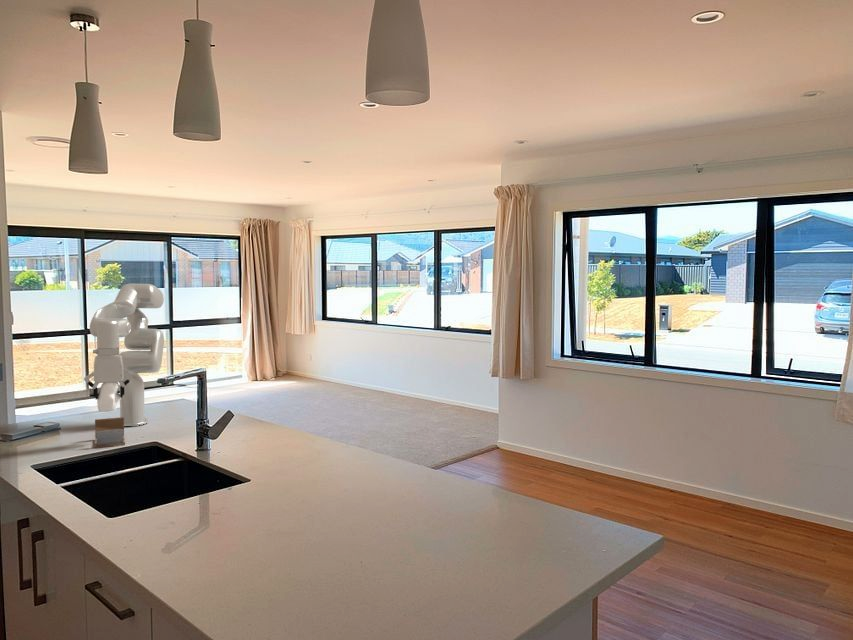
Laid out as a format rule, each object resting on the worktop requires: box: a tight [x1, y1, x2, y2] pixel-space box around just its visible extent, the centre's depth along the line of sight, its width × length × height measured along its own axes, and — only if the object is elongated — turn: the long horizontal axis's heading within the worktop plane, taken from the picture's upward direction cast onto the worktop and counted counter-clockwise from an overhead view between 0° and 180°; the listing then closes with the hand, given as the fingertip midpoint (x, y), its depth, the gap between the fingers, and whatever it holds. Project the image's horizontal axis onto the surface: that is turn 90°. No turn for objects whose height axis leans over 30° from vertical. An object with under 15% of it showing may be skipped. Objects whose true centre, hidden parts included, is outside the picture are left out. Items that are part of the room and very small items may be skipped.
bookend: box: [96, 429, 124, 445], centre depth 234 cm, size 4×9×5 cm, turn 118°
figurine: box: [96, 382, 121, 413], centre depth 237 cm, size 7×8×12 cm
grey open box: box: [94, 416, 126, 449], centre depth 238 cm, size 13×10×8 cm
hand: (109, 397), depth 237 cm, fingers closed on figurine, 8 cm apart
